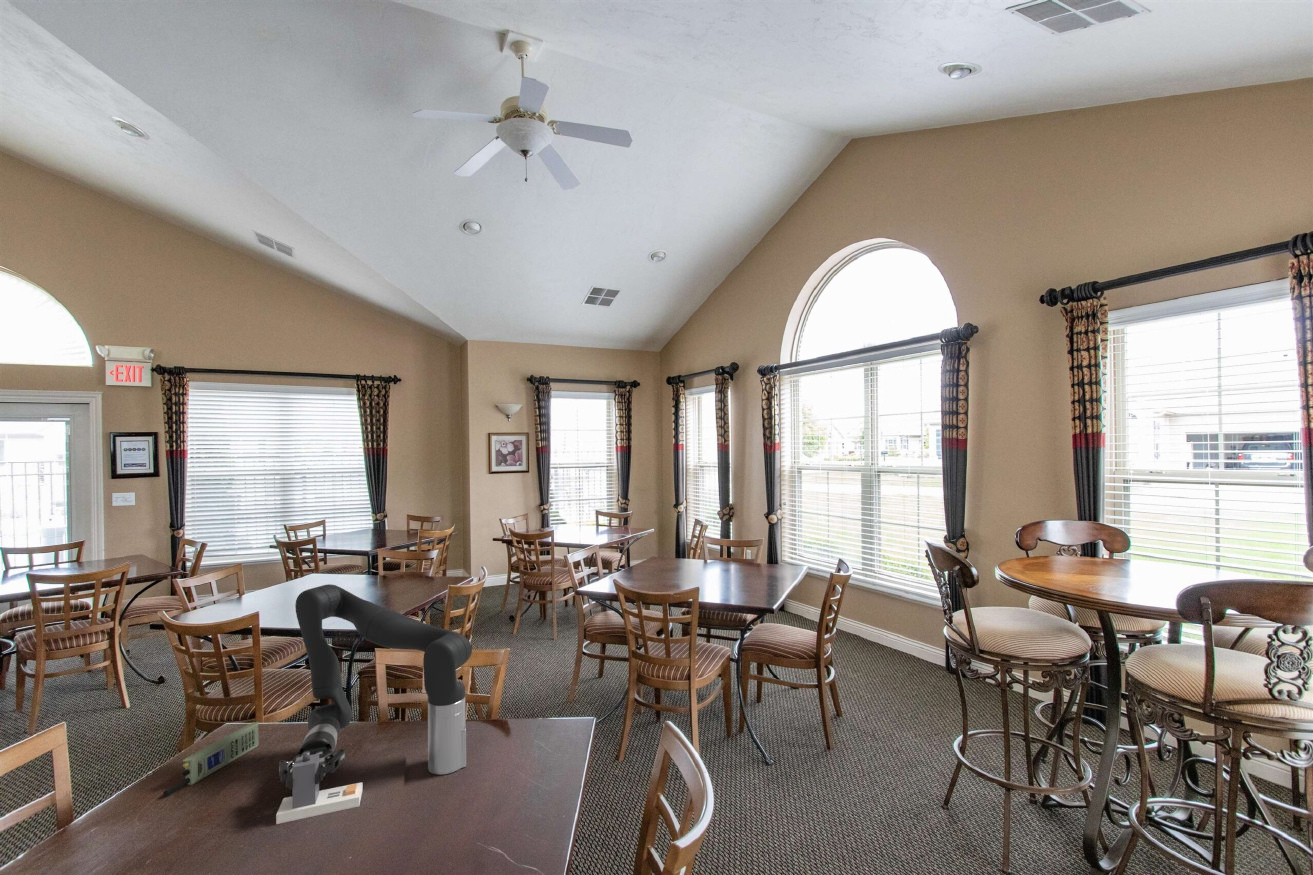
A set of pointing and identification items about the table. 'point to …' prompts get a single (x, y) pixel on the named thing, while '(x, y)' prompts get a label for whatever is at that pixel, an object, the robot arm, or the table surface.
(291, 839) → the table surface
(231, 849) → the table surface
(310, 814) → the power strip
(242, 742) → the handheld radio
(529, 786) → the table surface
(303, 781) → the charger
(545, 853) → the table surface
